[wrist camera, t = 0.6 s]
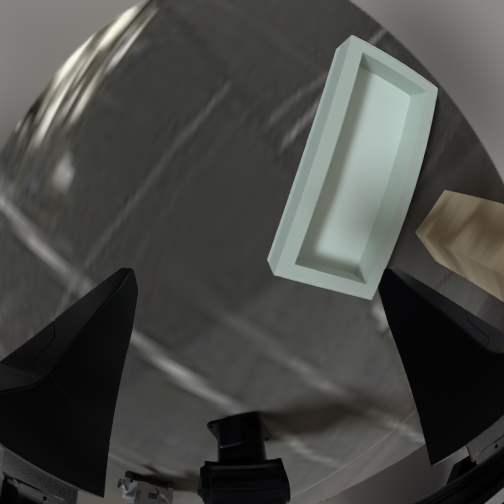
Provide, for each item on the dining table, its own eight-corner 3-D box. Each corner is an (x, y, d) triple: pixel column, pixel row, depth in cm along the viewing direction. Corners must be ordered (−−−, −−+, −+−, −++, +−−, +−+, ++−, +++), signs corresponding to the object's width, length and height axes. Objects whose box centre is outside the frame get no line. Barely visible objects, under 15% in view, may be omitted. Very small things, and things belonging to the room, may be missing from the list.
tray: (355, 283, 26) (371, 299, 22) (267, 259, 24) (274, 274, 21) (415, 94, 20) (437, 88, 17) (336, 49, 19) (351, 34, 15)
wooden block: (435, 261, 26) (513, 308, 14) (414, 232, 25) (502, 275, 13) (463, 221, 25) (542, 252, 13) (444, 190, 24) (534, 213, 12)
